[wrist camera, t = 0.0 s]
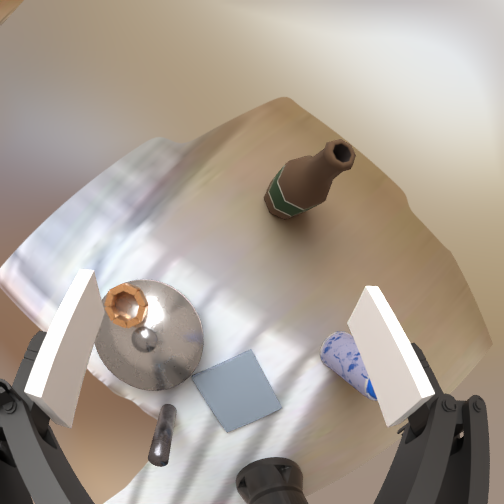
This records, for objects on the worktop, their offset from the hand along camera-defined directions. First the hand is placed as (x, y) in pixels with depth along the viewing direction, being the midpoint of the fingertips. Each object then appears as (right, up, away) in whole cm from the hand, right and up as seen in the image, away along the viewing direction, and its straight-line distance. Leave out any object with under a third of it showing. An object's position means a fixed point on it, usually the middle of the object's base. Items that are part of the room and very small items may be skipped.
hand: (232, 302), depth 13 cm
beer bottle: (+7, +12, +38) cm, 40 cm away
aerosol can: (+18, -17, +39) cm, 46 cm away
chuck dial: (-16, -11, +28) cm, 34 cm away
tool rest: (-2, -24, +35) cm, 43 cm away
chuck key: (-15, -28, +33) cm, 46 cm away
